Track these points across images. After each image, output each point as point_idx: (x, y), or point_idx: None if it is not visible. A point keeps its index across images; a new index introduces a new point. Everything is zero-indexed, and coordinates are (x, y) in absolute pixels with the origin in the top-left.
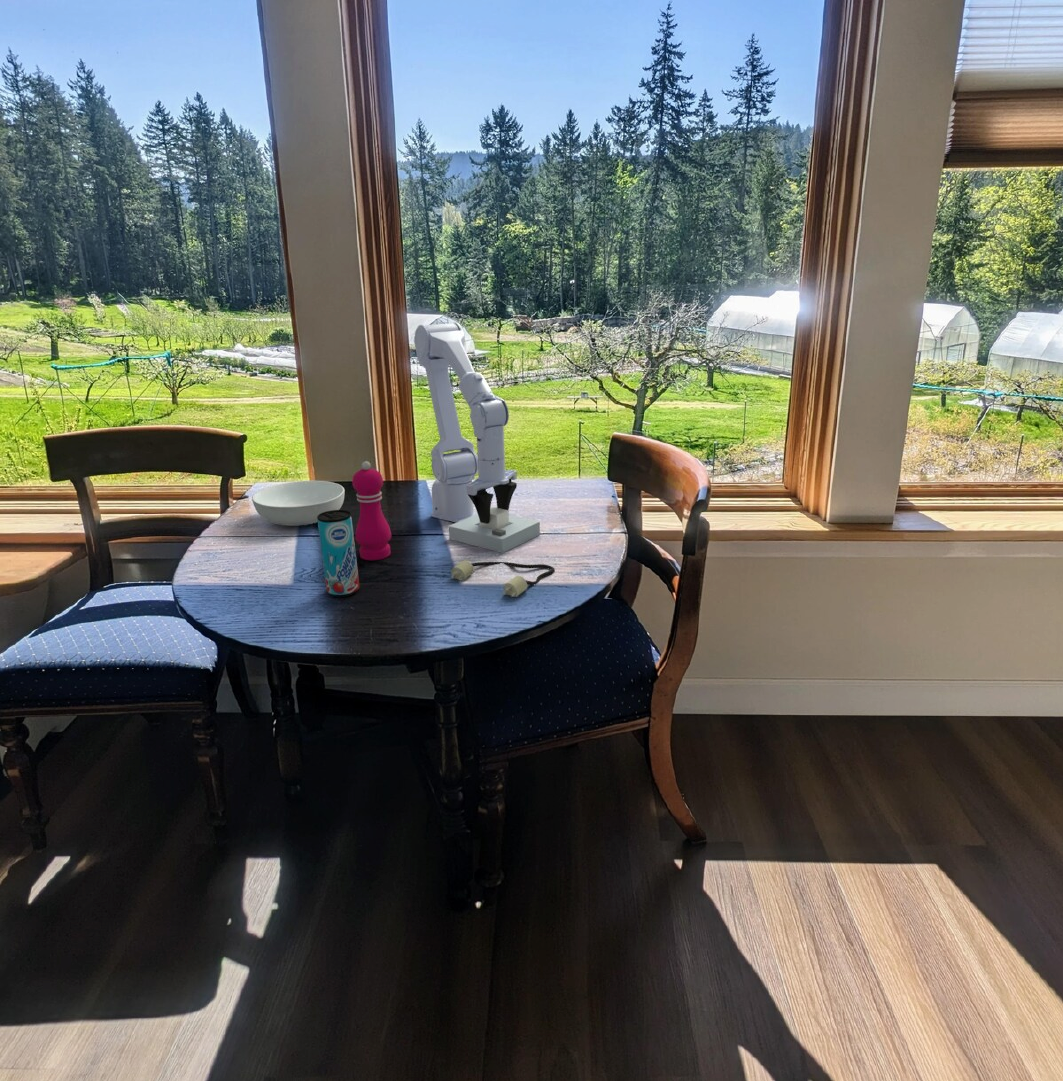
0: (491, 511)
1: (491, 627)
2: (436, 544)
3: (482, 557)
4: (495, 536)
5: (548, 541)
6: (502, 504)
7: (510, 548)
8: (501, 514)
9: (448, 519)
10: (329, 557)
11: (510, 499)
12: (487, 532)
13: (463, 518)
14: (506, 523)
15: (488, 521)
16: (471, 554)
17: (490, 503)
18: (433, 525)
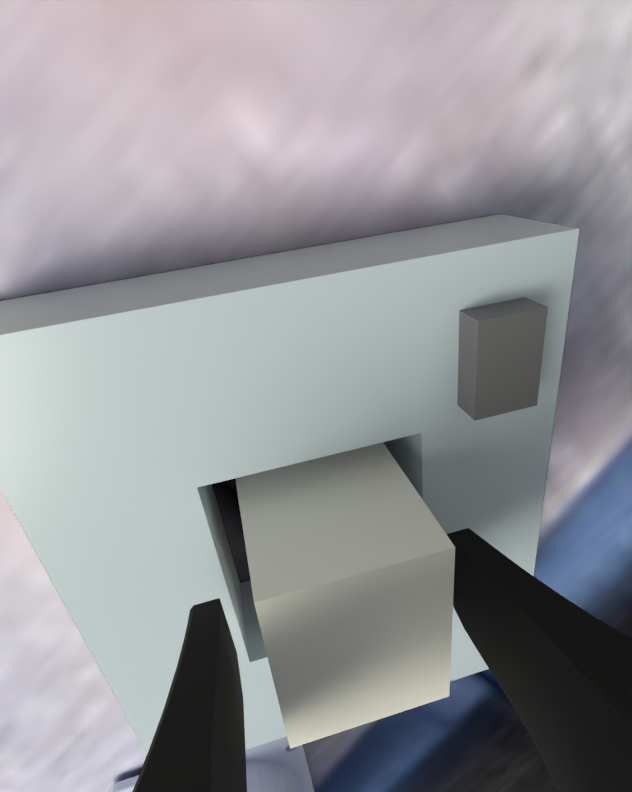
0: (392, 652)
1: None
2: (561, 567)
3: (620, 259)
4: (549, 328)
5: (24, 85)
6: (230, 730)
7: (414, 229)
8: (374, 558)
9: (308, 771)
10: None
11: (155, 774)
12: (504, 442)
13: (250, 759)
14: (276, 498)
15: (469, 539)
16: (604, 350)
17: (609, 689)
18: (385, 744)
